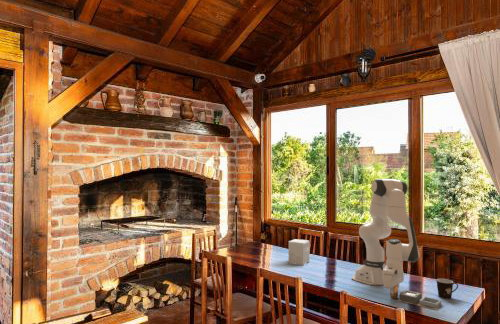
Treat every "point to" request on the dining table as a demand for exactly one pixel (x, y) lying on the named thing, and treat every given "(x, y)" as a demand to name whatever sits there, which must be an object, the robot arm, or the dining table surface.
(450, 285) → the coffee mug
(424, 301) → the tray
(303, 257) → the supplement box
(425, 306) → the bench board
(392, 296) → the cell
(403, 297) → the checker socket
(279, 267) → the dining table surface
